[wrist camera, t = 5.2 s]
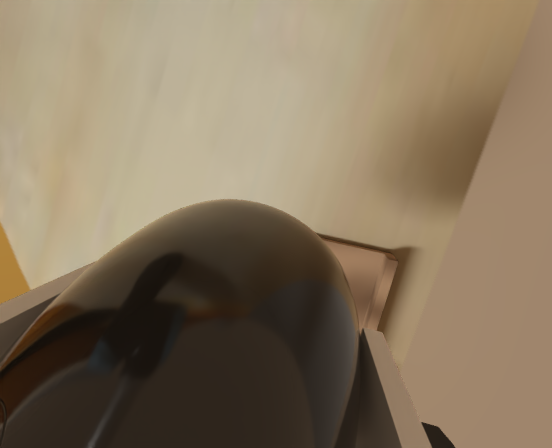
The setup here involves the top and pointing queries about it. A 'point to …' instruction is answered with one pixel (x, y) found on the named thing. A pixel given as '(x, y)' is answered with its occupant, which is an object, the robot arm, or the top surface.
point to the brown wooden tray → (366, 279)
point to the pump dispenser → (193, 342)
